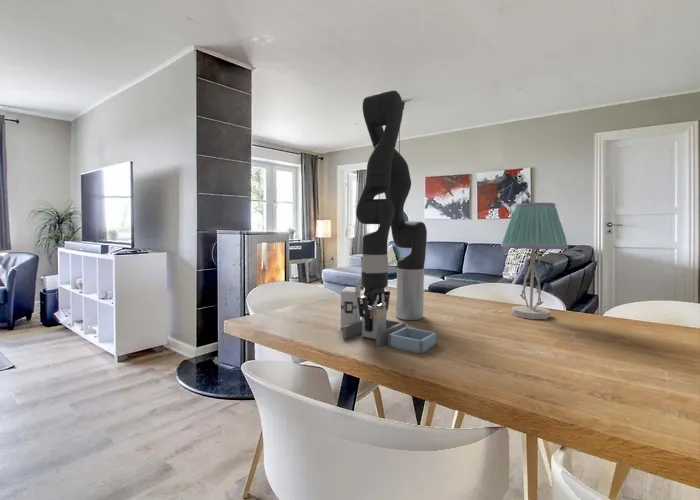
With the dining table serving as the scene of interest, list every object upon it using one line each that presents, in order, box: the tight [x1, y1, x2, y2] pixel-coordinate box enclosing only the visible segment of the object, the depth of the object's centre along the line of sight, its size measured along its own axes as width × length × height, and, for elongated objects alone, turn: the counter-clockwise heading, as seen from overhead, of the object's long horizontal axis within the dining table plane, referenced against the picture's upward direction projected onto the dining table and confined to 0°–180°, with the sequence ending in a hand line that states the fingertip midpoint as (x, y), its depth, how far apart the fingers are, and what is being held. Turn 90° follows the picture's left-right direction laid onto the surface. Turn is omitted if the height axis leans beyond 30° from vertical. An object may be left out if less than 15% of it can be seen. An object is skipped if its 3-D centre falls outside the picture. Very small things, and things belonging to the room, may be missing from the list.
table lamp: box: [500, 202, 569, 320], centre depth 134 cm, size 22×22×40 cm
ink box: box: [340, 278, 362, 329], centre depth 119 cm, size 9×5×15 cm, turn 168°
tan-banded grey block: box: [361, 306, 388, 340], centre depth 108 cm, size 5×5×8 cm
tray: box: [387, 326, 438, 355], centre depth 100 cm, size 10×10×3 cm
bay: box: [342, 318, 407, 348], centre depth 108 cm, size 14×12×4 cm
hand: (374, 328), depth 108 cm, fingers closed on tan-banded grey block, 5 cm apart
